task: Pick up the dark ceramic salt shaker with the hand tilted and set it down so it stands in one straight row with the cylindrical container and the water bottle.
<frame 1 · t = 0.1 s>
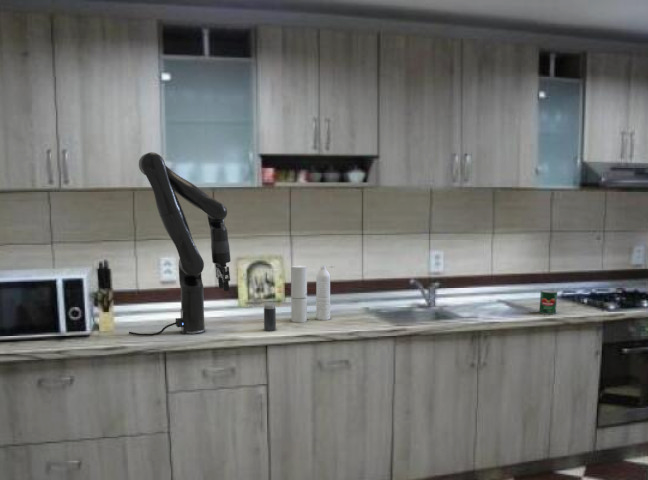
hand: (224, 289, 262), 17 cm above the counter, tool pointing down, fingers open, 8 cm apart
salt shaker: (269, 329, 265), on the counter
cylindrical container: (299, 321, 284), on the counter
water bottle: (325, 319, 289), on the counter
canned tomato: (547, 313, 307), on the counter
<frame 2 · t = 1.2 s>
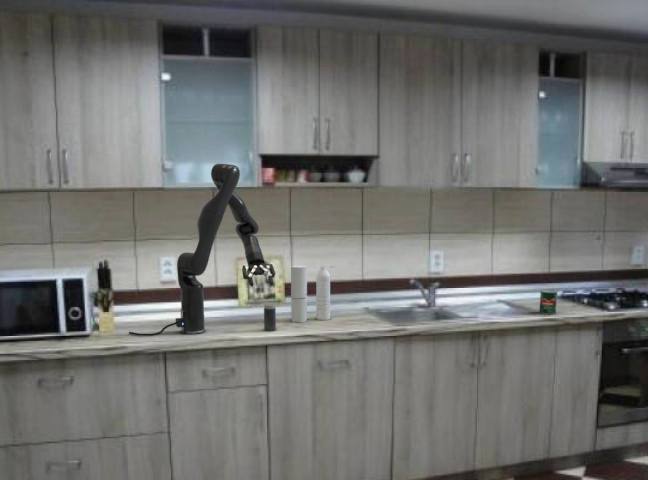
hand: (261, 285, 272), 18 cm above the counter, tool tilted 45°, fingers open, 8 cm apart
nothing on the counter moved.
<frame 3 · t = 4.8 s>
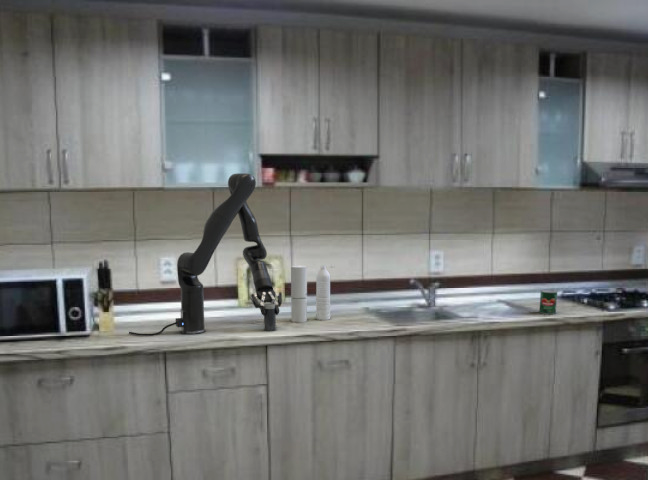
hand: (271, 314, 262), 7 cm above the counter, tool tilted 45°, fingers closed on salt shaker, 5 cm apart
salt shaker: (269, 329, 265), on the counter, touching gripper
everything else where it was.
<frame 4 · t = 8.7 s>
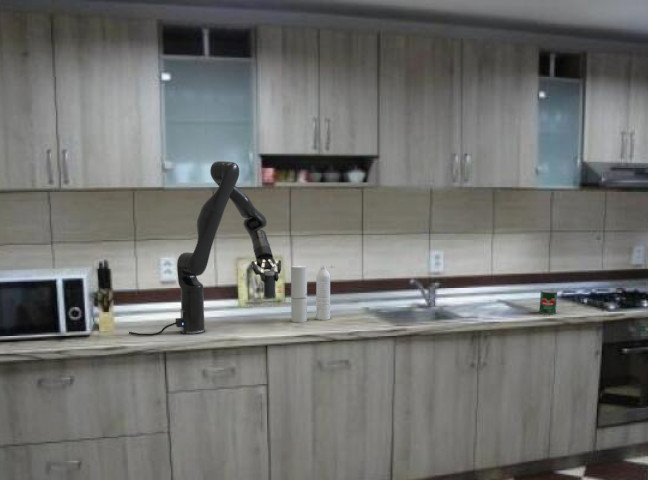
hand: (270, 280, 270), 20 cm above the counter, tool tilted 45°, fingers closed on salt shaker, 5 cm apart
salt shaker: (269, 296, 272), point 13 cm above the counter, touching gripper
everything else where it was.
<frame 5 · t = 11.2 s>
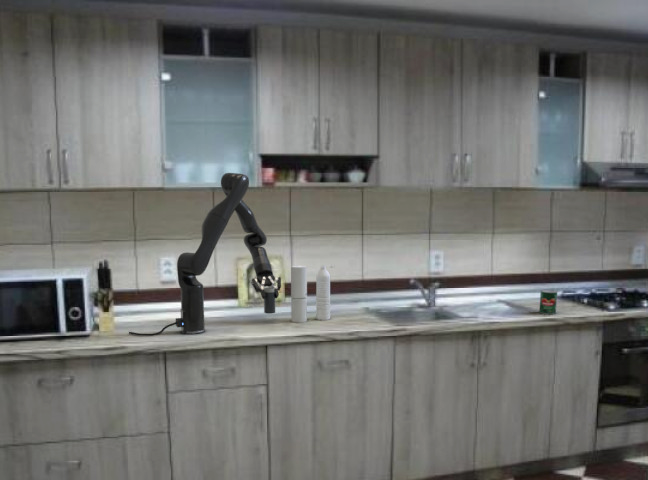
hand: (270, 297, 275), 12 cm above the counter, tool tilted 45°, fingers closed on salt shaker, 5 cm apart
salt shaker: (269, 312, 278), point 5 cm above the counter, touching gripper
everything else where it was.
when the fingers open (7 cm above the counter, at t = 13.1 s): salt shaker stays where it is, on the counter.
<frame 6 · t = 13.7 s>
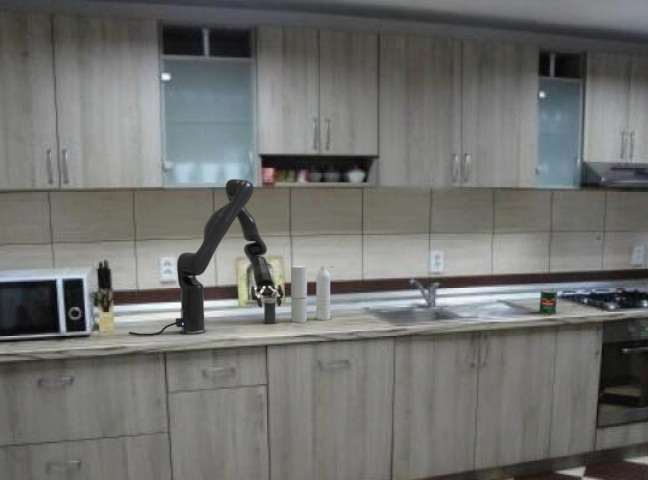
hand: (270, 305, 276), 8 cm above the counter, tool tilted 45°, fingers open, 8 cm apart
salt shaker: (269, 323, 278), on the counter
everything else where it was.
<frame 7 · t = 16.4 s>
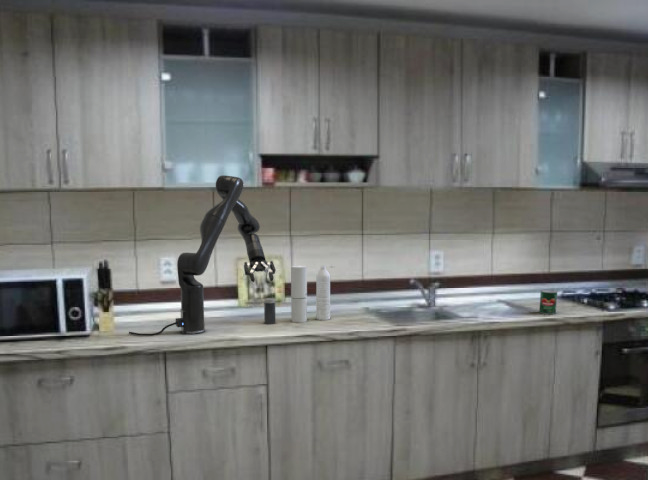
hand: (262, 280, 285), 18 cm above the counter, tool tilted 45°, fingers open, 8 cm apart
nothing on the counter moved.
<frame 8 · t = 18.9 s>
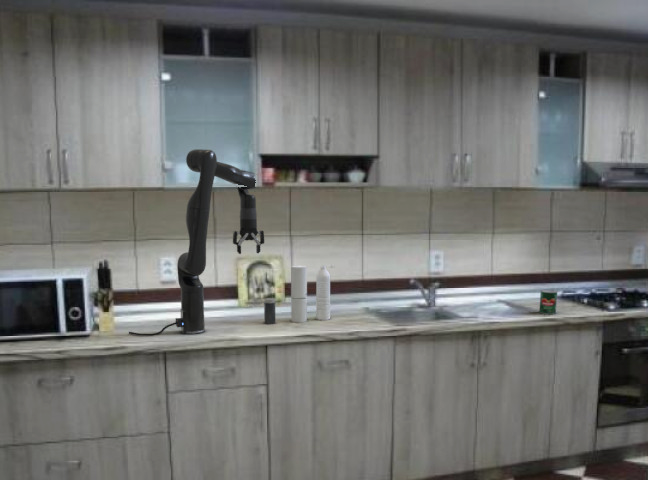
hand: (248, 253, 285), 30 cm above the counter, tool pointing down, fingers open, 8 cm apart
nothing on the counter moved.
at the end: salt shaker inside the target area (0.1 cm from its centre), on the counter; salt shaker tilted 0°; the gripper is holding nothing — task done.
